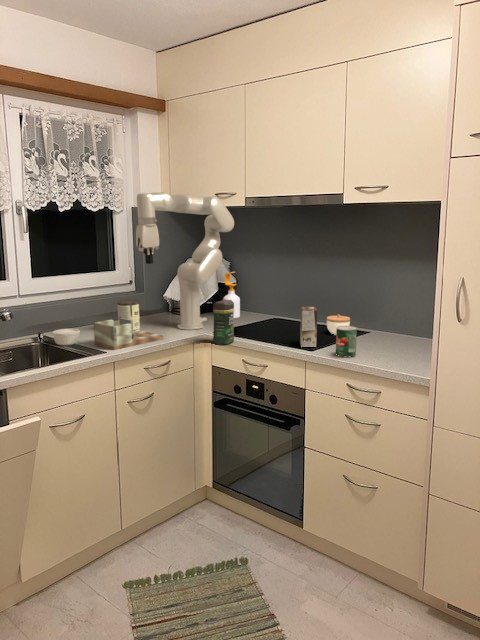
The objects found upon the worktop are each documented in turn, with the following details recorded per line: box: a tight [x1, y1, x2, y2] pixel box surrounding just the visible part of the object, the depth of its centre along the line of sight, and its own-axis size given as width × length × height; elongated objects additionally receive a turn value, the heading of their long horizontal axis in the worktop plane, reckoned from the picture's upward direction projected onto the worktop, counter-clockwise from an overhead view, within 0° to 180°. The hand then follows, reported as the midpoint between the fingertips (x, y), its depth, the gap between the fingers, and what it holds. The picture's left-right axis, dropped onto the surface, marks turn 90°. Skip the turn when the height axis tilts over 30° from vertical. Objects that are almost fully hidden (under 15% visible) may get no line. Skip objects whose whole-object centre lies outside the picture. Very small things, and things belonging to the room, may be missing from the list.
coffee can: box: [116, 299, 141, 333], centre depth 255 cm, size 10×10×14 cm
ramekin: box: [52, 328, 81, 346], centre depth 231 cm, size 11×11×5 cm
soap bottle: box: [222, 271, 241, 319], centre depth 286 cm, size 9×9×25 cm
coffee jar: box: [212, 299, 235, 345], centre depth 230 cm, size 10×8×19 cm
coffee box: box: [299, 305, 318, 348], centre depth 225 cm, size 9×6×16 cm
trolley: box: [119, 318, 134, 339], centre depth 228 cm, size 10×10×8 cm
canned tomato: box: [335, 325, 358, 357], centre depth 210 cm, size 8×8×11 cm
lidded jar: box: [326, 313, 351, 336], centre depth 246 cm, size 11×11×9 cm
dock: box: [93, 319, 164, 351], centre depth 232 cm, size 26×14×10 cm, turn 138°
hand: (149, 263), depth 240 cm, fingers closed
